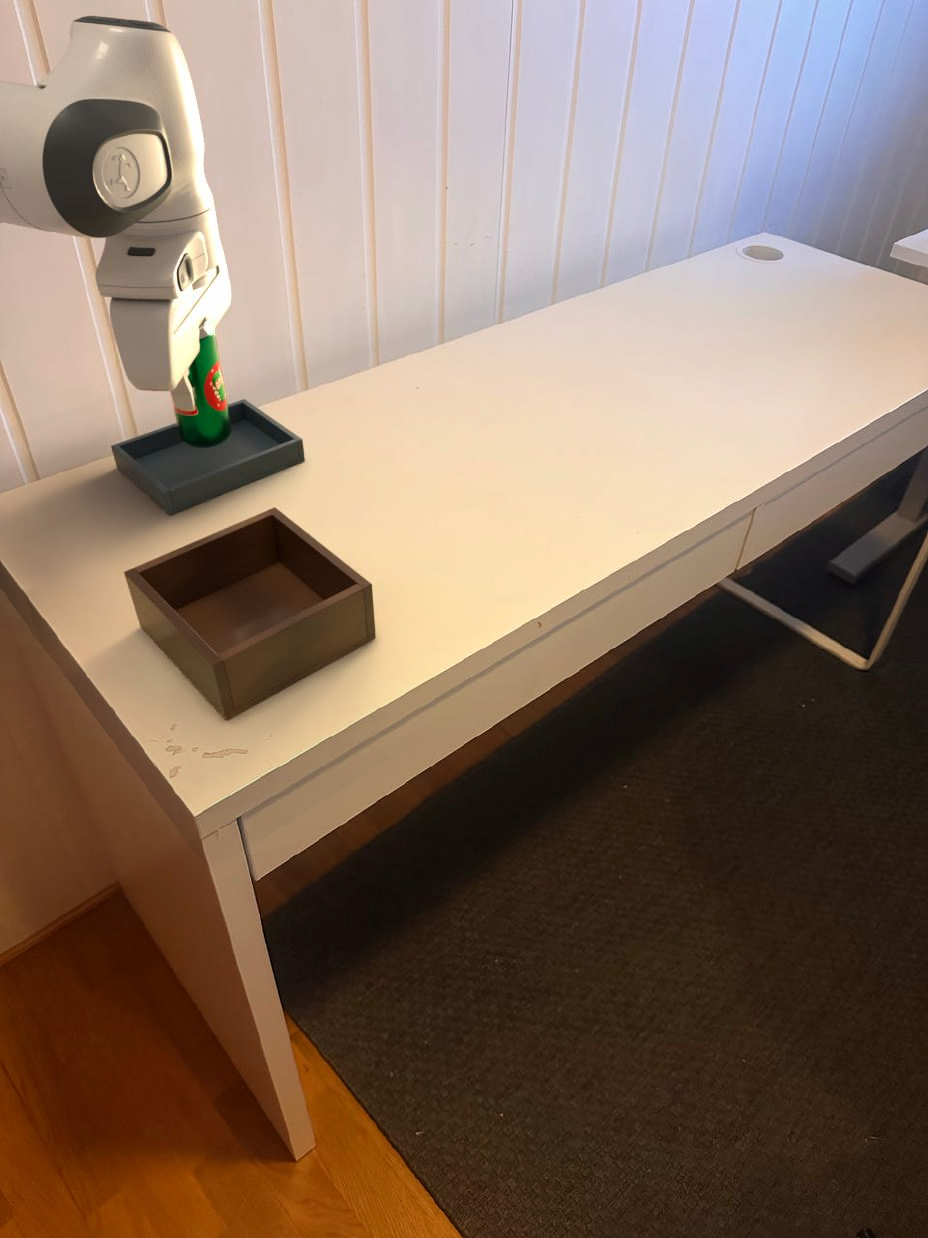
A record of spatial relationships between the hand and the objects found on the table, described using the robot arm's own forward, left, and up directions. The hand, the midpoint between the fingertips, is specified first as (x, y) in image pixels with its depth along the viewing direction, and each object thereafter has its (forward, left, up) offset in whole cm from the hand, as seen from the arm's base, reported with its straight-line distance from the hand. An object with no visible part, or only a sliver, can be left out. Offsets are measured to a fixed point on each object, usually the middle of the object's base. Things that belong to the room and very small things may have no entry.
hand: (196, 390), depth 85 cm
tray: (0, 0, -8) cm, 8 cm away
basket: (-10, -25, -8) cm, 28 cm away
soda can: (0, 0, -5) cm, 5 cm away
